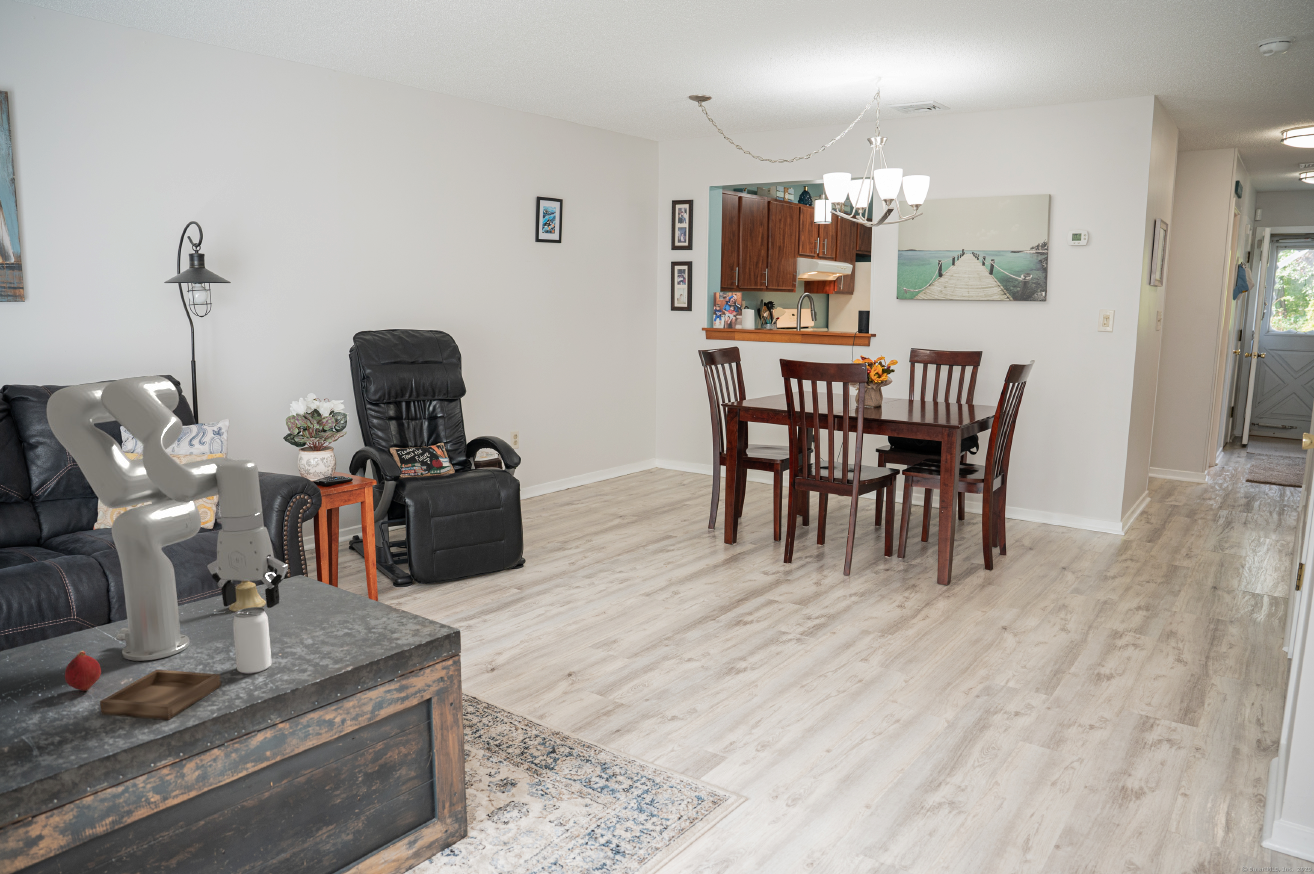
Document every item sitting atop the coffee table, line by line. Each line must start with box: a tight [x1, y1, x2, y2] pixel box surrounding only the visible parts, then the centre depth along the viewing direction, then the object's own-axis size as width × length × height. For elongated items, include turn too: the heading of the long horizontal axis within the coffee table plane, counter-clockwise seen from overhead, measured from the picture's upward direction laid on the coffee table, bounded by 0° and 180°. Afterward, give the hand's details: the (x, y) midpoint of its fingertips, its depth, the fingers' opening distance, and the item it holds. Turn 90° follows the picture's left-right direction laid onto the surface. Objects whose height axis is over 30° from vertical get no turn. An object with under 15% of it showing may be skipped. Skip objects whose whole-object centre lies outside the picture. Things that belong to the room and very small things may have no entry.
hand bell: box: [228, 581, 267, 613], centre depth 215 cm, size 8×8×16 cm
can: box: [232, 607, 272, 675], centre depth 178 cm, size 6×6×12 cm
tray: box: [99, 669, 222, 721], centre depth 165 cm, size 14×14×2 cm
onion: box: [64, 650, 102, 692], centre depth 169 cm, size 6×6×8 cm
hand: (251, 604), depth 177 cm, fingers open, 9 cm apart
